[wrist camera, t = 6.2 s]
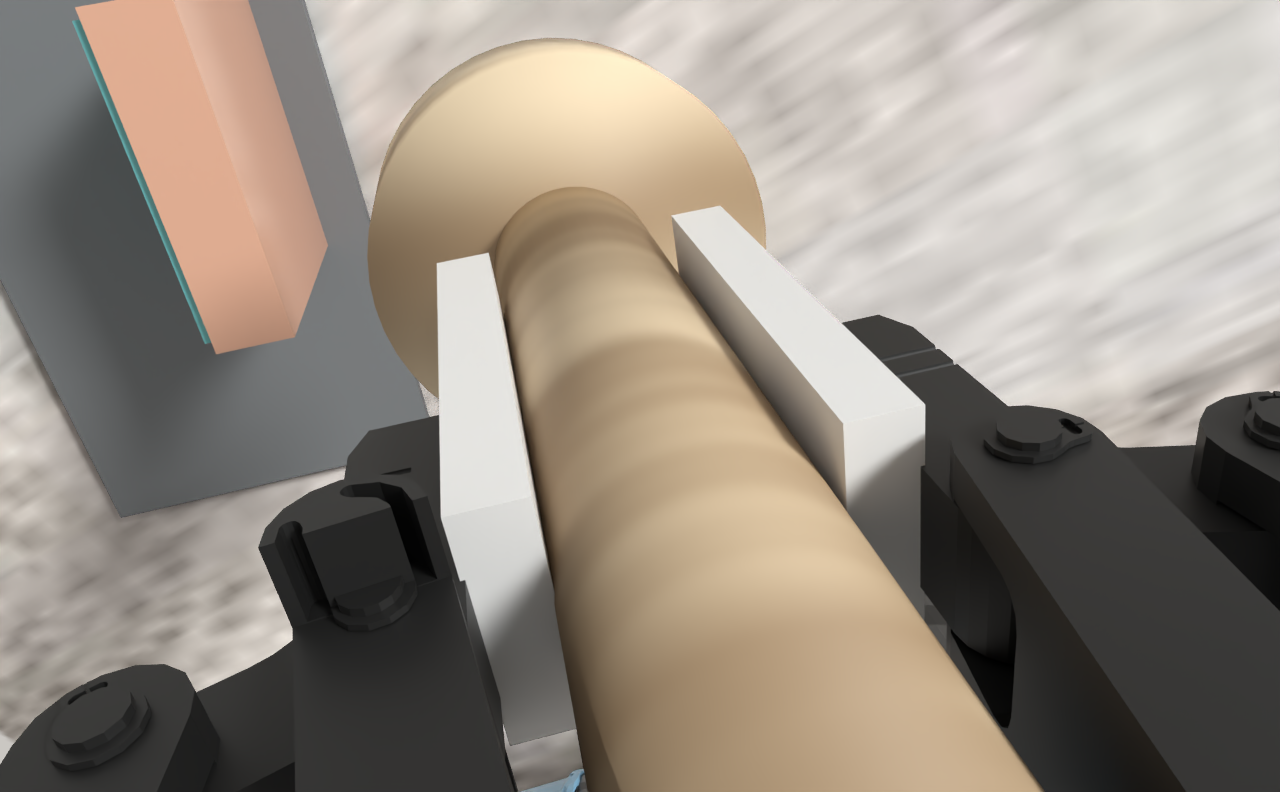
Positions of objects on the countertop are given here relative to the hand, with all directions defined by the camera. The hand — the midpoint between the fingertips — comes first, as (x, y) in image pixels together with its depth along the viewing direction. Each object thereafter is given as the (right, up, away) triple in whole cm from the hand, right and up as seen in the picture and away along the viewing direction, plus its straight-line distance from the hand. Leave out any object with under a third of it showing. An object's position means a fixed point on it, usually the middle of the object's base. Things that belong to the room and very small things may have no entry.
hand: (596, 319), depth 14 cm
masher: (-1, +2, +4) cm, 5 cm away
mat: (-18, +7, +22) cm, 29 cm away
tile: (-14, +9, +21) cm, 27 cm away
